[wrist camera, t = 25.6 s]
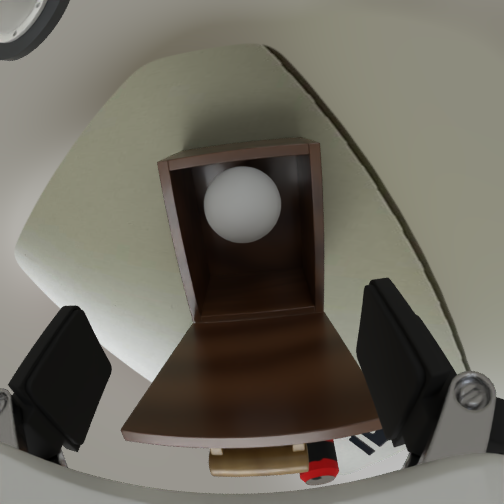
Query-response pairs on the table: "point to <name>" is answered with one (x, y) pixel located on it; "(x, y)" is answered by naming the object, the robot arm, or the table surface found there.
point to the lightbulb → (242, 204)
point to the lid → (256, 394)
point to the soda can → (321, 463)
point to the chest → (253, 253)
